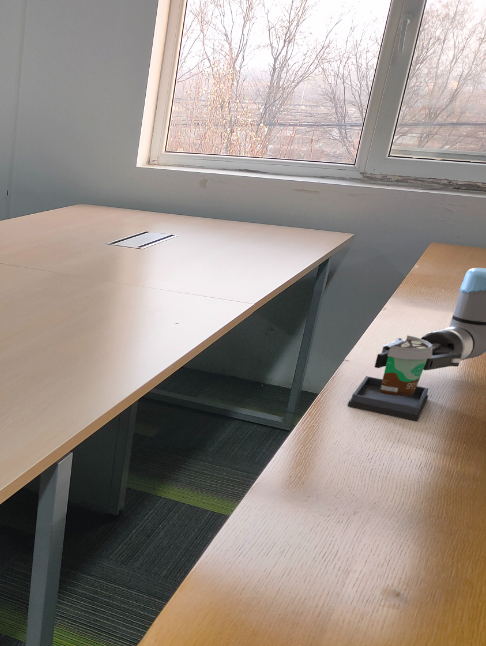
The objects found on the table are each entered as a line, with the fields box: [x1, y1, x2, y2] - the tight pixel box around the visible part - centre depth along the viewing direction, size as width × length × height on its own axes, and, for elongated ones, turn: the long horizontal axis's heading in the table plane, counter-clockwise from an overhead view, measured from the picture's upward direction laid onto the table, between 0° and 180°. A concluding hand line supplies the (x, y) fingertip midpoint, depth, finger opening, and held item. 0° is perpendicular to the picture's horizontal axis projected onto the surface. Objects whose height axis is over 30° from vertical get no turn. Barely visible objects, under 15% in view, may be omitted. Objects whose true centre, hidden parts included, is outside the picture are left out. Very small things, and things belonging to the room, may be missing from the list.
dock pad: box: [347, 375, 429, 422], centre depth 164 cm, size 12×16×2 cm
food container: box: [380, 334, 432, 396], centre depth 159 cm, size 12×6×10 cm, turn 136°
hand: (385, 363), depth 158 cm, fingers closed on food container, 2 cm apart
